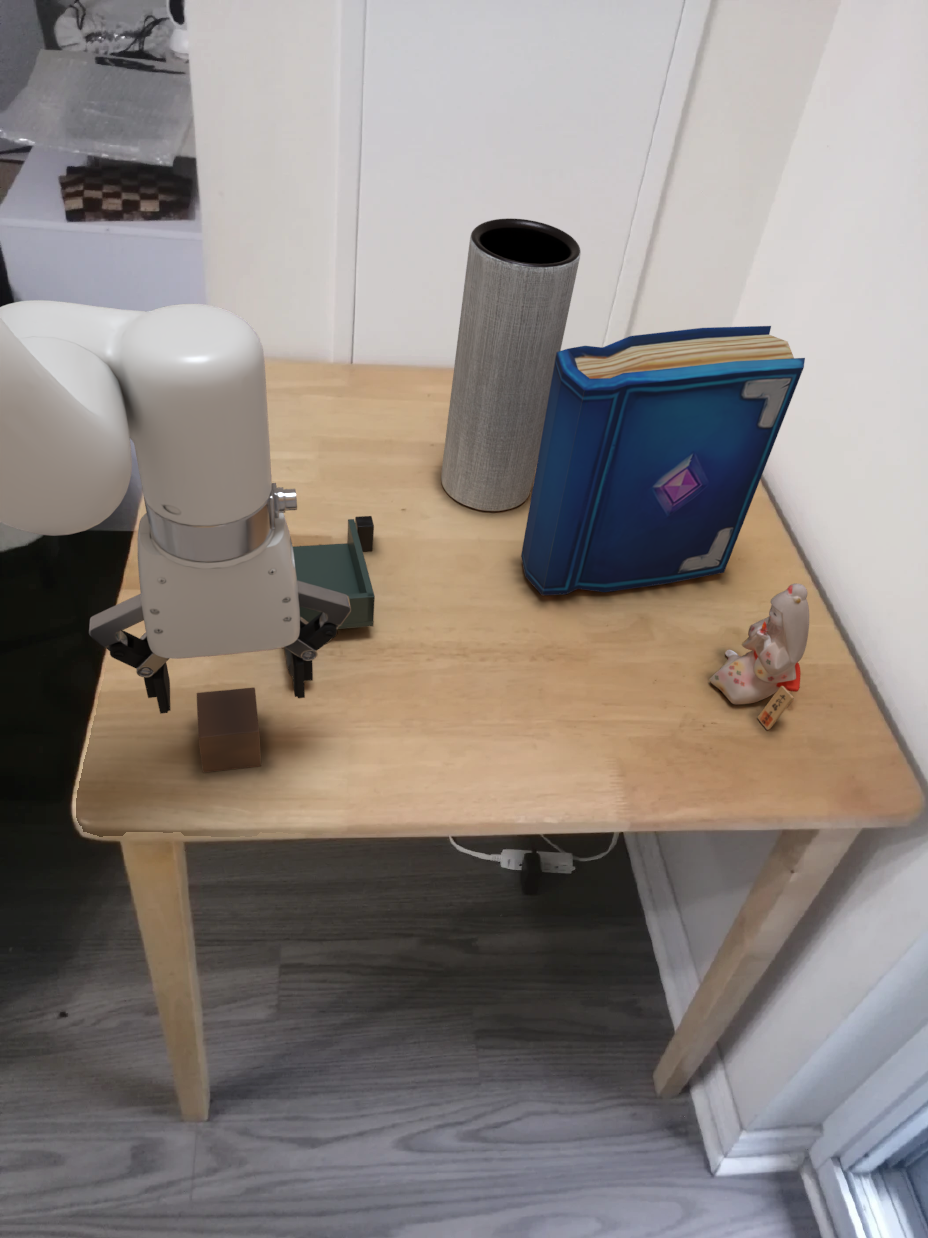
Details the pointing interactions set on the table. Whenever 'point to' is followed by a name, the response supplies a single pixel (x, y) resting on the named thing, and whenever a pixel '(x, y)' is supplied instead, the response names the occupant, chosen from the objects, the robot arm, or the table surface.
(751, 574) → the table surface
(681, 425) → the book
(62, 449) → the robot arm
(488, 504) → the planter
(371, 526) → the pair of dark blocks
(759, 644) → the figurine
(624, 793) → the table surface
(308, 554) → the dustpan
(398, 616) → the table surface
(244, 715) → the block
